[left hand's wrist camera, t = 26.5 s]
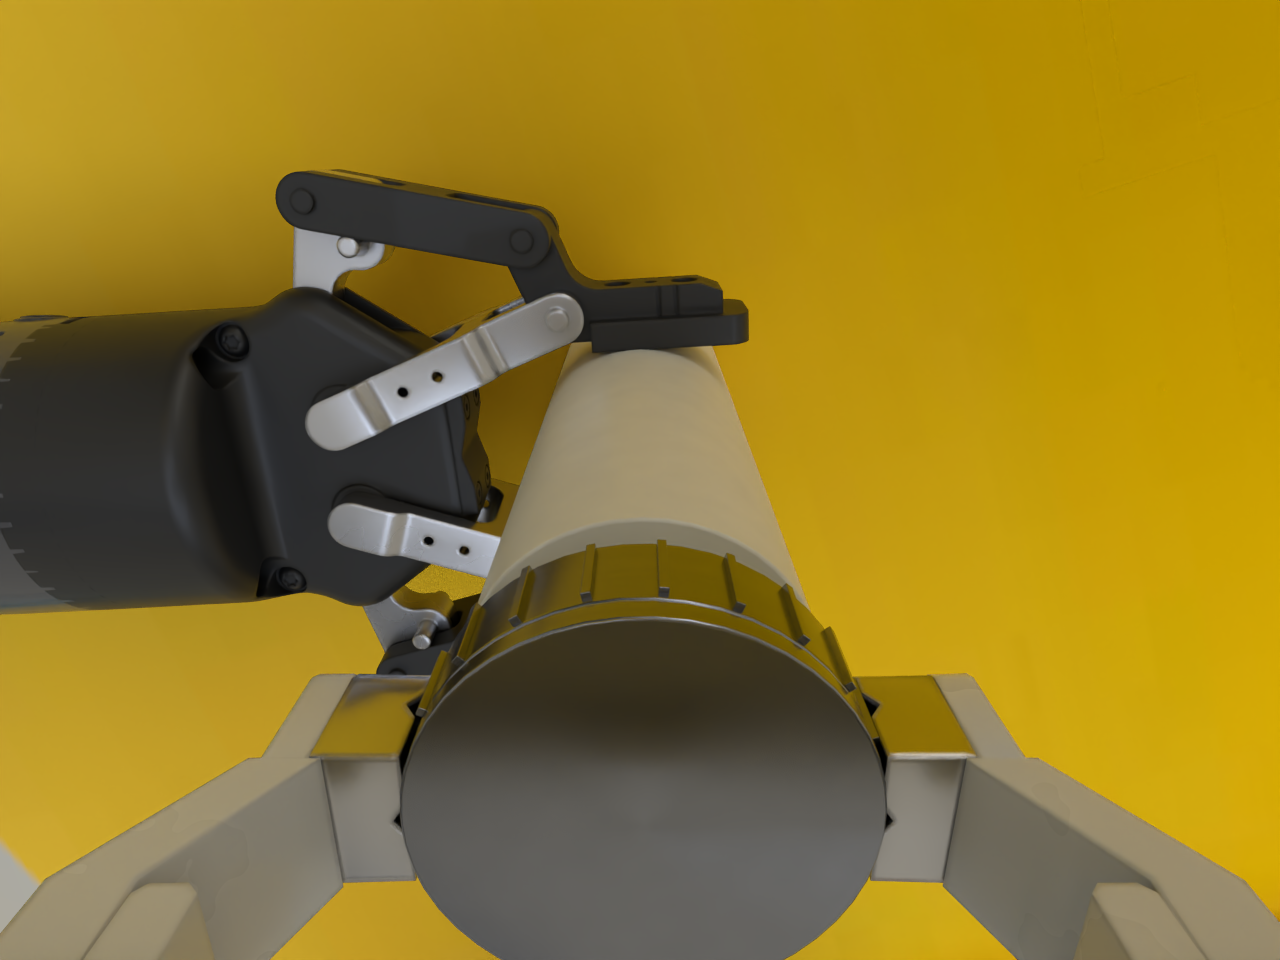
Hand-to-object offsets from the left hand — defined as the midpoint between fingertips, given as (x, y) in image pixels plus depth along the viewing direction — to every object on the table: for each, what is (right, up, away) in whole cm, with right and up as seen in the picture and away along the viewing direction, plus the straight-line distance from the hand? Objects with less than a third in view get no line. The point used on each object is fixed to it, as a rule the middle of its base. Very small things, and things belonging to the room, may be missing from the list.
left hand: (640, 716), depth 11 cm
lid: (0, -1, -1) cm, 2 cm away
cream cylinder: (0, +7, +16) cm, 17 cm away
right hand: (+3, +4, +10) cm, 11 cm away
